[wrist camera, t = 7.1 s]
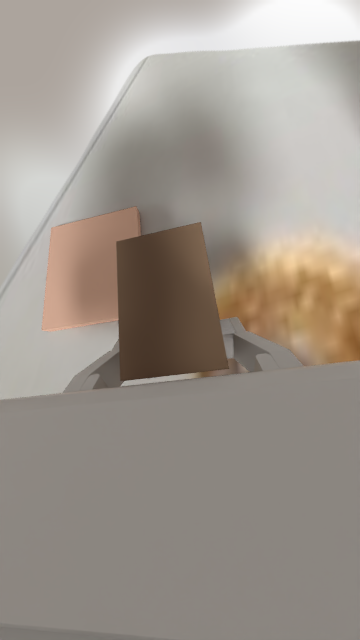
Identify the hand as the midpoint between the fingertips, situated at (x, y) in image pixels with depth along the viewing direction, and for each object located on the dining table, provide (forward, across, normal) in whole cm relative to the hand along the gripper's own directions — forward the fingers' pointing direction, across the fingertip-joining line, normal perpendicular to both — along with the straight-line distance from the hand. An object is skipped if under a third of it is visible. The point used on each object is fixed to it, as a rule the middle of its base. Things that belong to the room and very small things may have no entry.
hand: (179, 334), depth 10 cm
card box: (+5, 0, +3) cm, 6 cm away
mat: (+11, +10, -4) cm, 15 cm away
